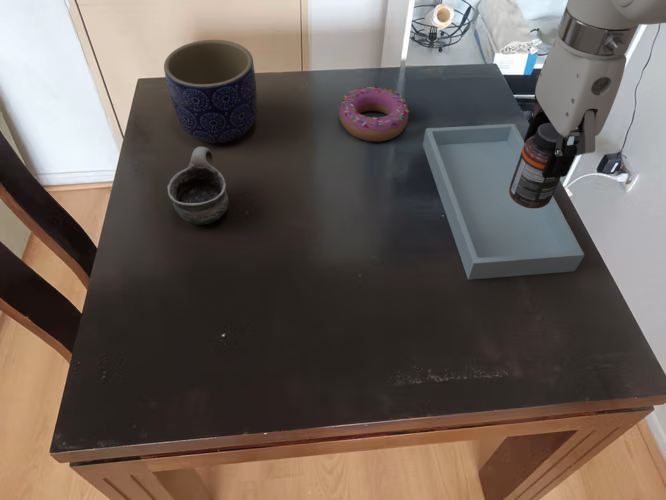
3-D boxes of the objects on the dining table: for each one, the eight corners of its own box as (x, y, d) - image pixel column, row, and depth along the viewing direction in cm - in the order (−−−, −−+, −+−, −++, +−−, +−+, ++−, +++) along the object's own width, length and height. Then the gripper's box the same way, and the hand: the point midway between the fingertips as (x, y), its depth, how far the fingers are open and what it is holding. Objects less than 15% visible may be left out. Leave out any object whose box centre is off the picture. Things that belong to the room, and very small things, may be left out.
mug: (173, 235, 92) (159, 193, 84) (178, 185, 100) (166, 142, 92) (230, 231, 92) (222, 189, 85) (231, 182, 100) (223, 139, 93)
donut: (360, 153, 106) (361, 132, 103) (327, 114, 114) (327, 93, 111) (420, 133, 111) (424, 112, 107) (384, 97, 119) (386, 76, 115)
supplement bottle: (524, 176, 80) (548, 111, 71) (558, 197, 77) (588, 133, 68) (498, 194, 77) (520, 129, 68) (533, 217, 74) (560, 152, 66)
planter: (240, 160, 104) (230, 94, 93) (164, 143, 107) (145, 76, 96) (272, 112, 115) (267, 47, 103) (202, 97, 118) (189, 32, 106)
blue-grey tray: (574, 271, 88) (584, 254, 85) (468, 280, 86) (473, 263, 83) (508, 140, 110) (514, 123, 106) (422, 145, 108) (425, 128, 105)
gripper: (670, 71, 53) (598, 202, 67) (594, -8, 64) (546, 118, 78) (598, 75, 52) (540, 206, 66) (534, -6, 63) (496, 121, 77)
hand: (544, 158), depth 72 cm, fingers closed on supplement bottle, 6 cm apart
